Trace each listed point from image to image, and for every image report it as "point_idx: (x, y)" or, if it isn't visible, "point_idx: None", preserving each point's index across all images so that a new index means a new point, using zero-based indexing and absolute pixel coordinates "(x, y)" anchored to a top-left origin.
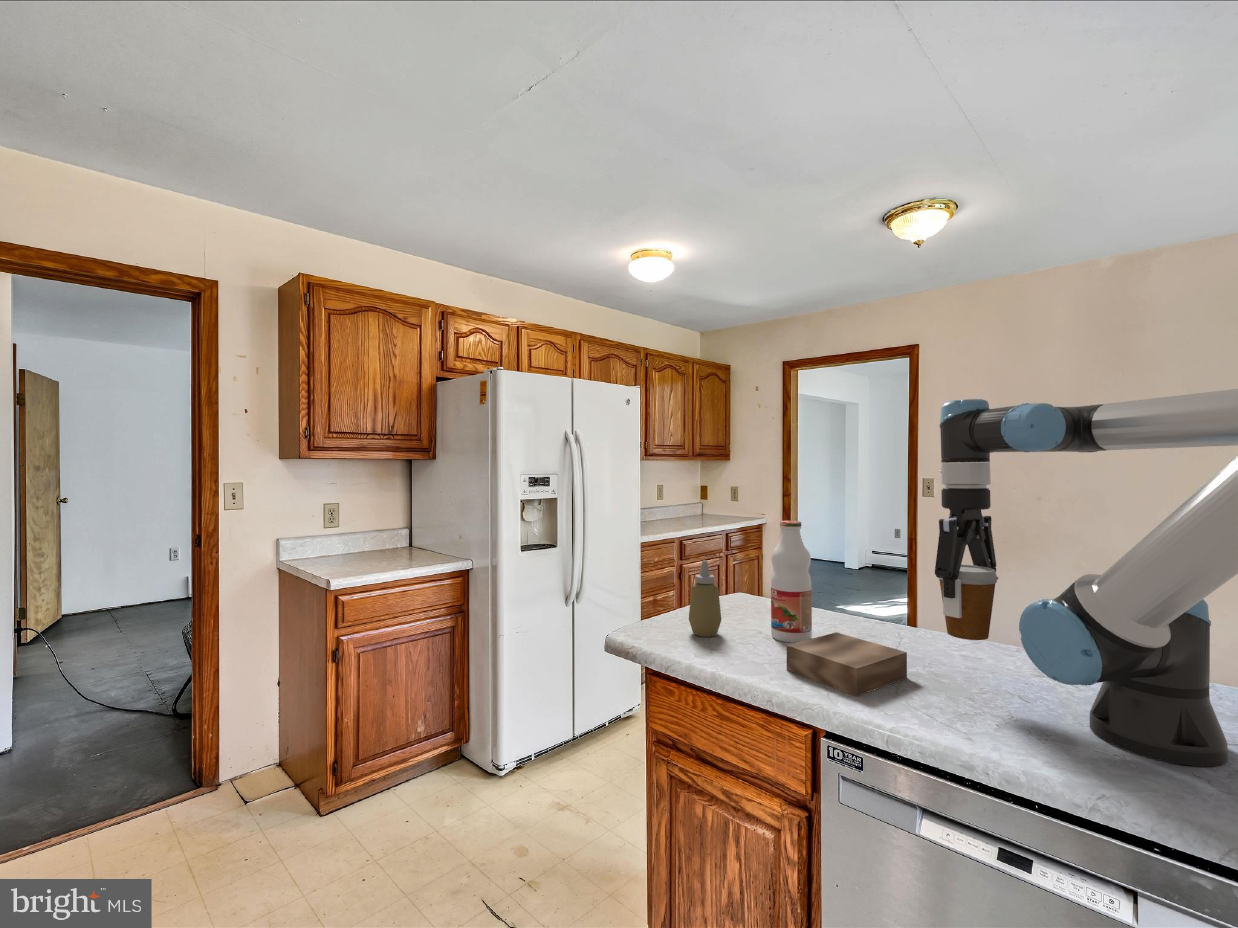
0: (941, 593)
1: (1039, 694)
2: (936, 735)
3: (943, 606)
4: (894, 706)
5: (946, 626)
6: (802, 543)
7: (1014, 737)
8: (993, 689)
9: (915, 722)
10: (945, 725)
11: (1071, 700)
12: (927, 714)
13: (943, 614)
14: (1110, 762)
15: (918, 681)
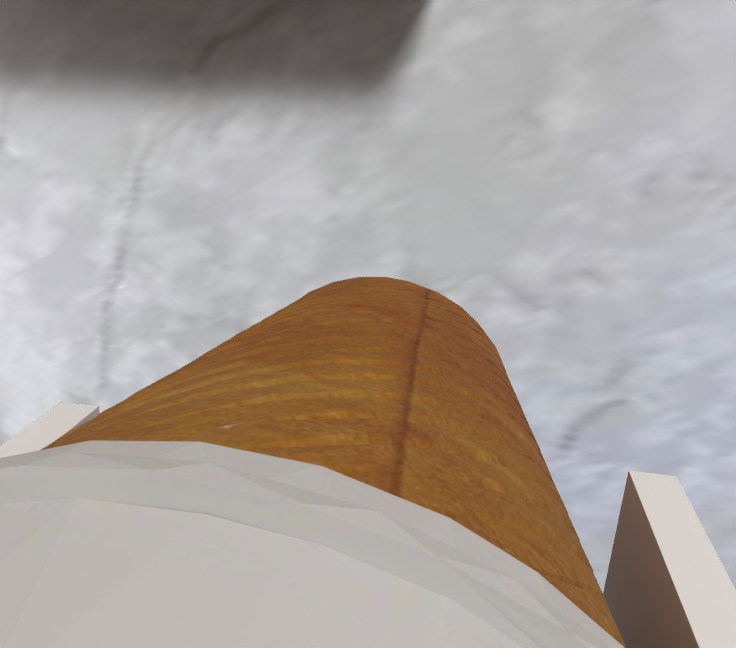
0: (143, 390)
1: (701, 453)
2: (13, 335)
3: (7, 443)
4: (80, 127)
5: (290, 304)
6: None
7: None
8: (616, 313)
9: (32, 250)
10: (101, 325)
11: (718, 543)
12: (126, 247)
13: (59, 405)
14: None
15: (442, 32)
